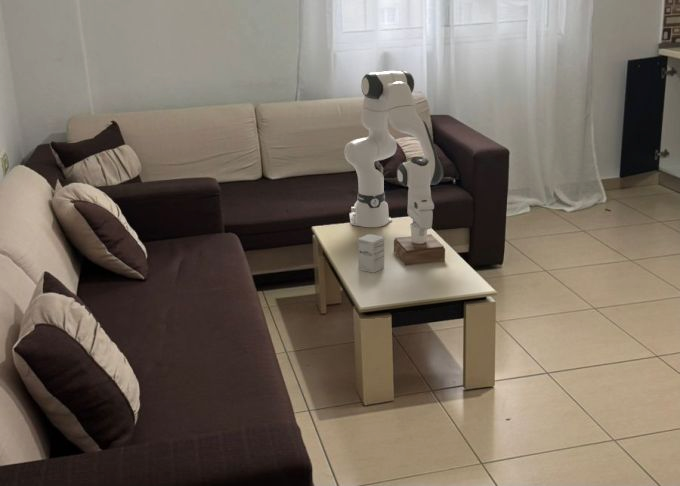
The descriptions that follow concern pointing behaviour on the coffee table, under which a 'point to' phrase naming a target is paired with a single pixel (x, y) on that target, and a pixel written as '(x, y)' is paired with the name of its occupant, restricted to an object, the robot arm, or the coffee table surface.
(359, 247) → the supplement box
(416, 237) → the white cylinder
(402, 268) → the coffee table surface
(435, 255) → the walnut box
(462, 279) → the coffee table surface
